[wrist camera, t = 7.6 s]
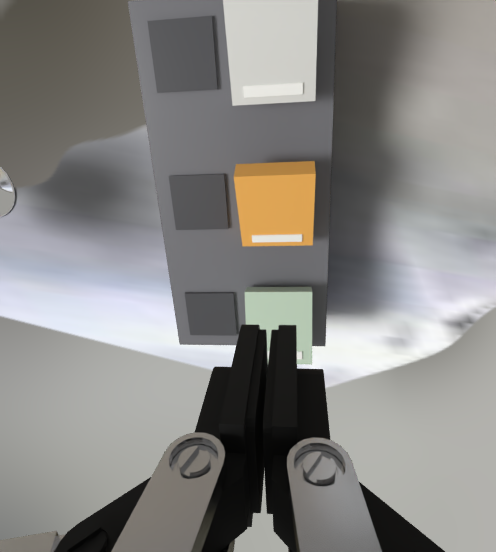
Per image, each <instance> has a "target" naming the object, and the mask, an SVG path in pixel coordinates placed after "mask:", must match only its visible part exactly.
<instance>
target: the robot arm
mask: <svg viewBox="0 0 496 552" xmlns="http://www.w3.org/2000/svg"><path fill="white" fill-rule="evenodd" d="M264 467H265V486H266V505H267V513H268V514H273V526H274V532H275V533H276V534H277V535H278V536H279V537H280V539H281V540H282V541H283V542H284V543H285V544H286V545H287V546H288V552H445V551H444V550H442V549H441V548H440V547H438V546H437V545H436V544H435V543H434V542H432V541H431V540H430V539H429V538H428V537H426V536H425V535H424V534H422V533H421V532H420V531H419V530H418V529H417V528H415V527H414V526H413V525H412V524H410V523H409V522H408V521H407V520H405V519H404V518H403V517H402V516H401V515H399V514H398V513H397V512H396V511H394V510H393V509H392V508H391V507H389V506H388V505H387V504H386V503H385V502H383V501H382V500H381V499H380V498H378V497H377V496H376V495H375V494H373V493H372V492H371V491H370V490H368V489H367V488H366V487H365V486H364V485H362V484H361V483H360V482H359V481H358V478H357V475H356V472H355V469H354V466H353V463H352V460H351V458H350V457H349V455H348V453H347V452H346V451H345V450H344V449H343V448H342V447H341V446H340V445H338V444H337V443H335V442H333V441H331V440H330V432H329V422H328V412H327V402H326V392H325V382H324V373H323V369H297V328H296V325H279V326H278V330H271V340H270V351H269V361H268V357H267V333H266V329H260V326H259V325H245V324H242V325H241V327H240V332H239V336H238V341H237V345H236V350H235V354H234V358H233V363H232V367H214V369H213V371H212V374H211V378H210V381H209V385H208V388H207V392H206V395H205V399H204V402H203V405H202V409H201V412H200V416H199V419H198V423H197V426H196V430H195V433H190V434H186V435H184V436H182V437H180V438H178V439H176V440H175V441H174V442H173V443H171V444H170V446H169V447H168V448H167V450H166V451H165V452H164V454H163V456H162V458H161V460H160V462H159V464H158V466H157V467H156V469H155V471H154V473H153V475H152V477H150V478H149V479H147V480H146V481H144V482H143V483H141V484H139V485H138V486H136V487H135V488H133V489H132V490H130V491H128V492H127V493H125V494H124V495H122V496H121V497H119V498H118V499H116V500H114V501H113V502H111V503H110V504H108V505H107V506H105V507H104V508H102V509H100V510H99V511H97V512H96V513H94V514H93V515H91V516H90V517H88V518H86V519H85V520H83V521H82V522H80V523H79V524H77V525H76V526H75V527H73V528H72V529H71V530H70V531H68V532H67V534H66V535H60V536H59V535H58V533H57V531H53V532H47V533H41V534H34V535H28V536H23V537H17V538H10V539H5V540H0V552H233V551H234V544H235V538H237V537H238V536H239V535H240V534H242V533H243V532H244V531H245V530H246V529H247V527H252V517H253V513H260V512H261V502H262V490H263V478H264Z"/></svg>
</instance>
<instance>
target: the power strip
mask: <svg viewBox="0 0 496 552" xmlns="http://www.w3.org/2000/svg"><path fill="white" fill-rule="evenodd" d="M128 6H129V12H130V19H131V25H132V33H133V39H134V45H135V52H136V59H137V66H138V72H139V79H140V85H141V91H142V98H143V105H144V112H145V118H146V125H147V131H148V138H149V145H150V151H151V158H152V164H153V171H154V178H155V184H156V191H157V197H158V204H159V211H160V217H161V224H162V230H163V237H164V244H165V250H166V257H167V263H168V270H169V277H170V283H171V290H172V296H173V303H174V310H175V316H176V323H177V329H178V336H179V343H180V344H187V345H237V341H238V336H239V332H240V327H241V325H242V324H245V325H246V317H245V290H246V288H247V287H311V288H312V346H325V340H326V310H327V281H328V251H329V221H330V191H331V162H332V132H333V102H334V72H335V43H336V13H337V0H318V22H317V59H316V96H315V101H307V102H289V103H272V104H254V105H236V106H233V105H232V94H231V83H230V73H229V62H228V51H227V40H226V29H225V18H224V7H223V0H136V1H128ZM302 161H315V172H316V178H315V202H314V226H313V245H305V246H242V238H241V231H240V223H239V215H238V207H237V199H236V191H235V183H234V172H235V166H236V164H252V163H277V162H302Z"/></svg>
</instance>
